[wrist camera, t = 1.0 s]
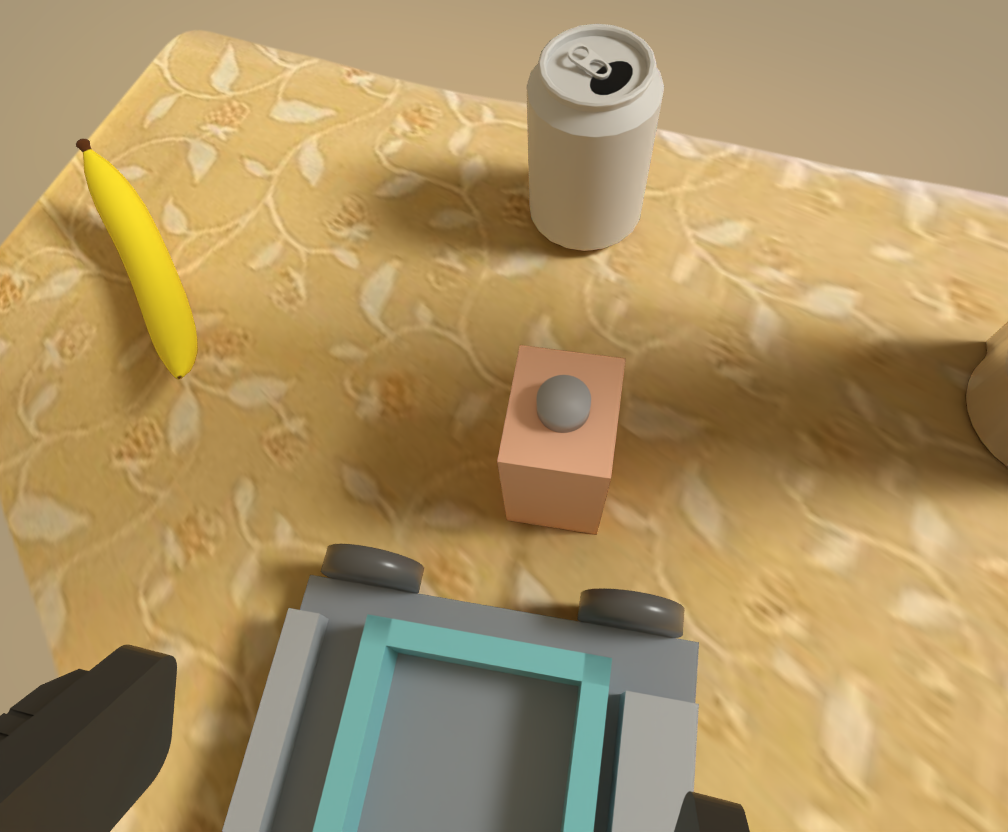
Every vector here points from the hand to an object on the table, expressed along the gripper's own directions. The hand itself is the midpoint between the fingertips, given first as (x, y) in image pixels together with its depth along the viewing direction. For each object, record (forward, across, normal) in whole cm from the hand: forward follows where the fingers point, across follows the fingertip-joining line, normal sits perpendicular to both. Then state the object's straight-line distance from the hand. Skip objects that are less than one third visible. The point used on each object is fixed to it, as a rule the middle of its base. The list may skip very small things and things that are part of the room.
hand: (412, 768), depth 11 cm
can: (+41, +1, -10) cm, 42 cm away
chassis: (+20, 0, +17) cm, 26 cm away
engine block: (+29, -1, +4) cm, 30 cm away
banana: (+35, +26, 0) cm, 43 cm away
